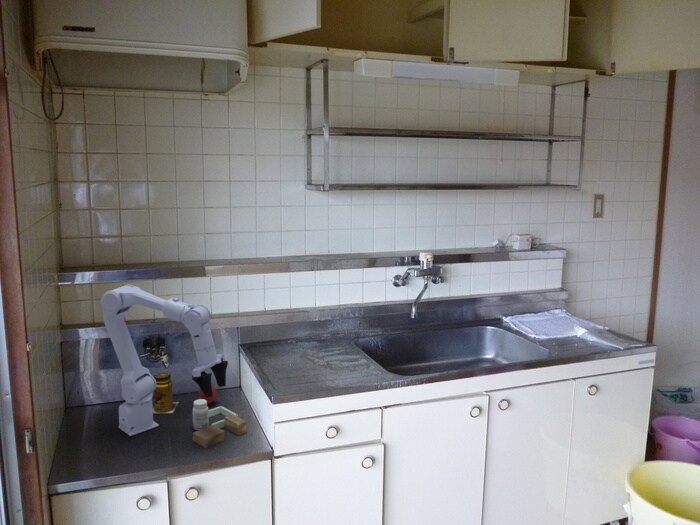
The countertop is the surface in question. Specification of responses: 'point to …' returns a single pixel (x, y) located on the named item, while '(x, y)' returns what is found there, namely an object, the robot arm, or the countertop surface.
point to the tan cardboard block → (208, 436)
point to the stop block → (235, 424)
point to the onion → (208, 399)
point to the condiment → (163, 394)
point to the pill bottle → (200, 414)
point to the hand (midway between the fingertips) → (215, 391)
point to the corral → (222, 411)
